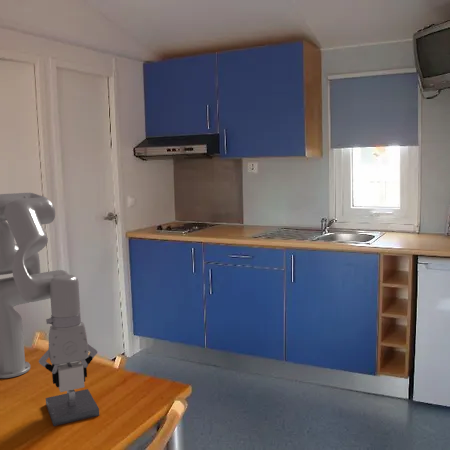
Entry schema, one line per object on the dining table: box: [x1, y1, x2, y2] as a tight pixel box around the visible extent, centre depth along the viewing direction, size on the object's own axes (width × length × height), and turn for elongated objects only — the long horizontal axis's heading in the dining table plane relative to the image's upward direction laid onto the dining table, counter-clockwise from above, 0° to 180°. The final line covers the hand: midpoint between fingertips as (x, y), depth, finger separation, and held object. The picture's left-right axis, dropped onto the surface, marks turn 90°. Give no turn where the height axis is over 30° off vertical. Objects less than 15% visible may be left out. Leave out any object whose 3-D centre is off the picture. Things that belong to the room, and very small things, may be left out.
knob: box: [57, 361, 85, 393], centre depth 145 cm, size 6×6×6 cm
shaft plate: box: [45, 388, 100, 427], centre depth 146 cm, size 14×12×6 cm
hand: (70, 382), depth 145 cm, fingers closed on knob, 6 cm apart
